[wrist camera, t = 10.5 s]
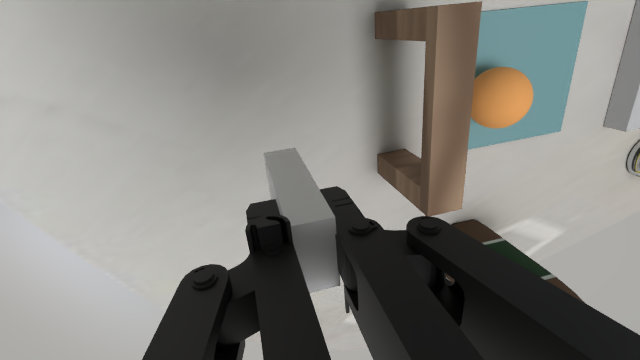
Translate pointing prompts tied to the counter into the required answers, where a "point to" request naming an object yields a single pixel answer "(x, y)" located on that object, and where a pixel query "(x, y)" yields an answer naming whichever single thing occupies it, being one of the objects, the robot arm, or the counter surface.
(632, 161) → the supplement bottle
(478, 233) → the beer bottle
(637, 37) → the wall
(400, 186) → the bridge
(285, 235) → the robot arm
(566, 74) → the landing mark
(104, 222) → the counter surface
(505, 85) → the ball
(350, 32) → the counter surface
